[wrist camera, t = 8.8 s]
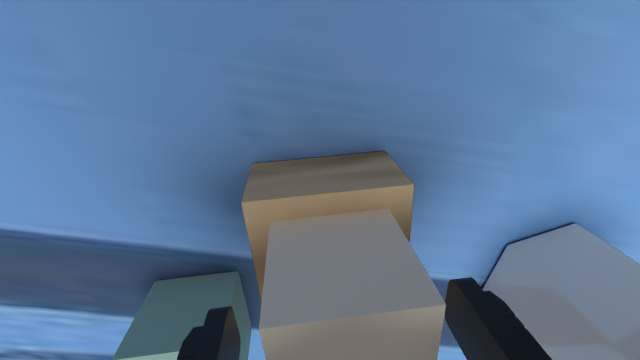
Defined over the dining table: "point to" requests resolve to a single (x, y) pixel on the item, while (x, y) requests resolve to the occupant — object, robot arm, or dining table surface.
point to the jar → (572, 294)
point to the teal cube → (183, 315)
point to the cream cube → (347, 291)
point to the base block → (322, 193)
